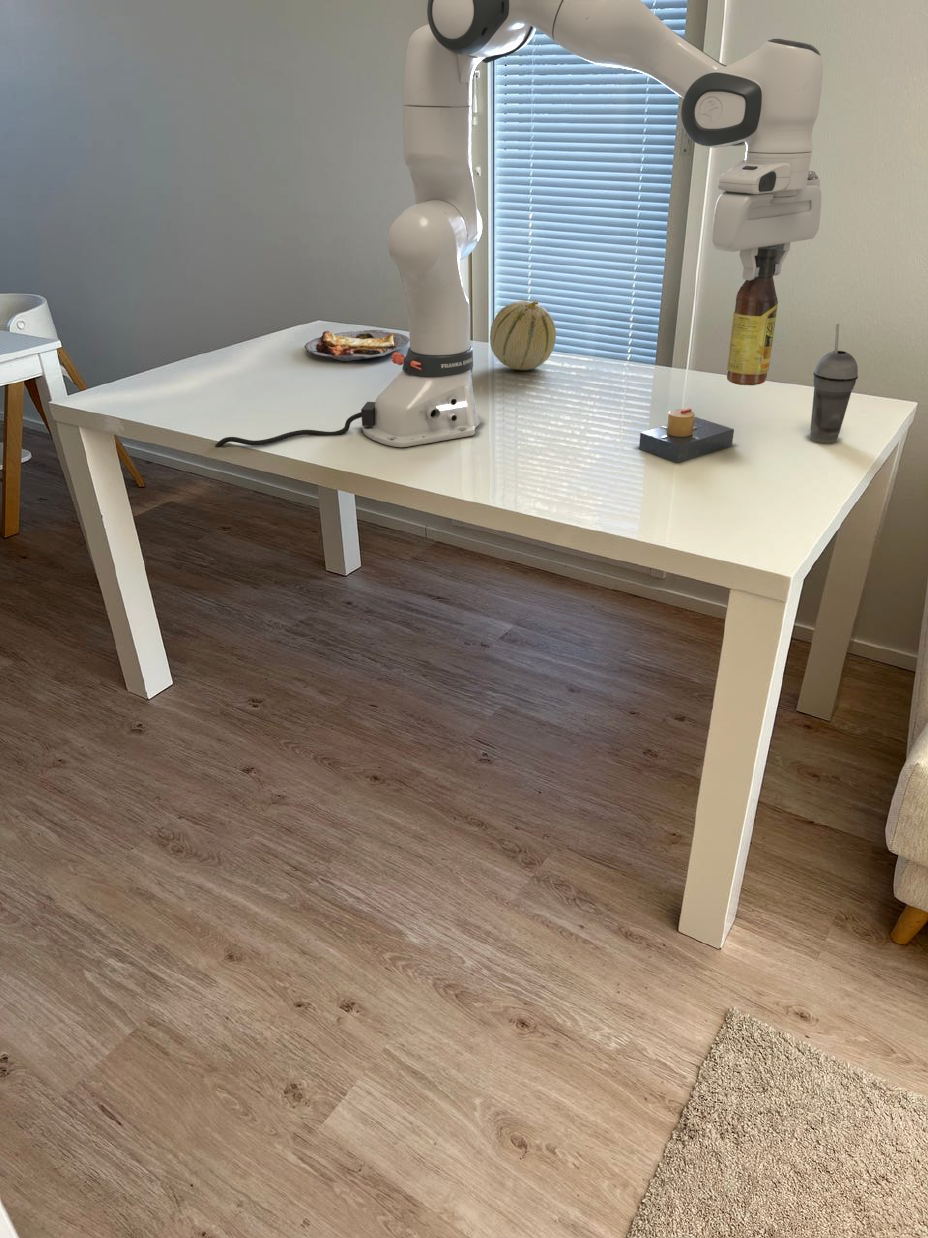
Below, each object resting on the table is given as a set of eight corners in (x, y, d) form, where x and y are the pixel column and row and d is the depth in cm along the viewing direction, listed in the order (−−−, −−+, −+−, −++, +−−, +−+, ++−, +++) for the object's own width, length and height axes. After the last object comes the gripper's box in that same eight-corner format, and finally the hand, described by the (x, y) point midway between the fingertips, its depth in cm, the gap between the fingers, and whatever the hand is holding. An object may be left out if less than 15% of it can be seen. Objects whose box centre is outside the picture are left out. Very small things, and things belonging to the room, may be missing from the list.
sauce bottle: (768, 388, 141) (788, 250, 131) (726, 386, 142) (743, 249, 132) (764, 376, 147) (784, 243, 137) (724, 374, 148) (741, 242, 138)
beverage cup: (839, 449, 160) (863, 331, 150) (797, 442, 163) (817, 326, 153) (849, 436, 165) (872, 322, 155) (807, 430, 168) (828, 317, 158)
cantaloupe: (493, 359, 214) (493, 292, 207) (556, 360, 213) (558, 293, 205) (485, 377, 202) (485, 306, 194) (553, 378, 200) (555, 307, 192)
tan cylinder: (680, 438, 157) (682, 417, 155) (661, 432, 160) (663, 410, 158) (697, 433, 159) (700, 411, 157) (678, 426, 162) (680, 405, 160)
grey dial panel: (677, 463, 155) (679, 445, 154) (638, 448, 161) (640, 431, 160) (732, 445, 162) (734, 428, 161) (693, 432, 169) (695, 415, 167)
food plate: (292, 363, 215) (291, 347, 213) (322, 338, 234) (321, 324, 233) (397, 366, 211) (396, 350, 209) (418, 341, 231) (417, 327, 229)
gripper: (802, 168, 137) (787, 266, 144) (710, 177, 127) (698, 282, 134) (839, 170, 133) (821, 271, 140) (747, 180, 123) (733, 289, 130)
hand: (760, 277), depth 137 cm, fingers closed on sauce bottle, 4 cm apart
